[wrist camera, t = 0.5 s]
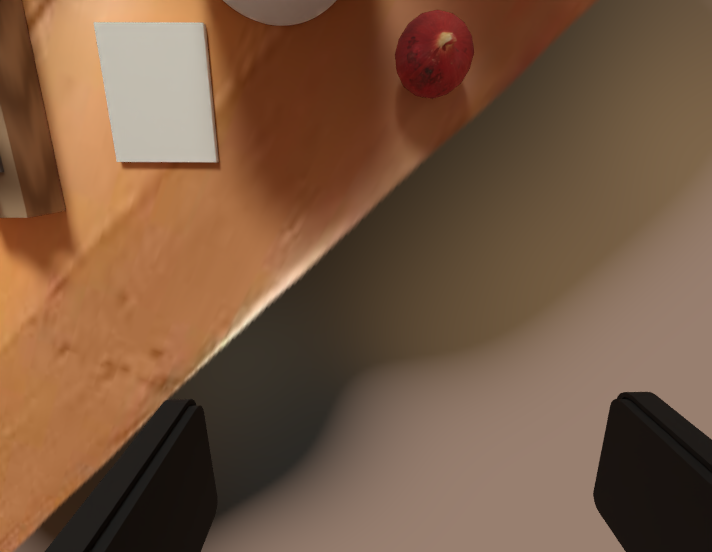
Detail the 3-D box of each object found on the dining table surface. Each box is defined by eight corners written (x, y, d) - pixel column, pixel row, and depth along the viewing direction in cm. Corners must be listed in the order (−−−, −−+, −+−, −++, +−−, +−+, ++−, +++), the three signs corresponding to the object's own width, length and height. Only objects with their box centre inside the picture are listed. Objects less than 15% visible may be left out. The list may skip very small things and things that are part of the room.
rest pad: (98, 24, 33) (93, 22, 32) (205, 25, 33) (203, 22, 32) (120, 161, 36) (116, 161, 35) (218, 162, 36) (216, 162, 35)
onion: (432, 117, 35) (453, 105, 27) (378, 78, 34) (384, 55, 26) (472, 55, 33) (507, 25, 26) (417, 13, 32) (436, -32, 25)
